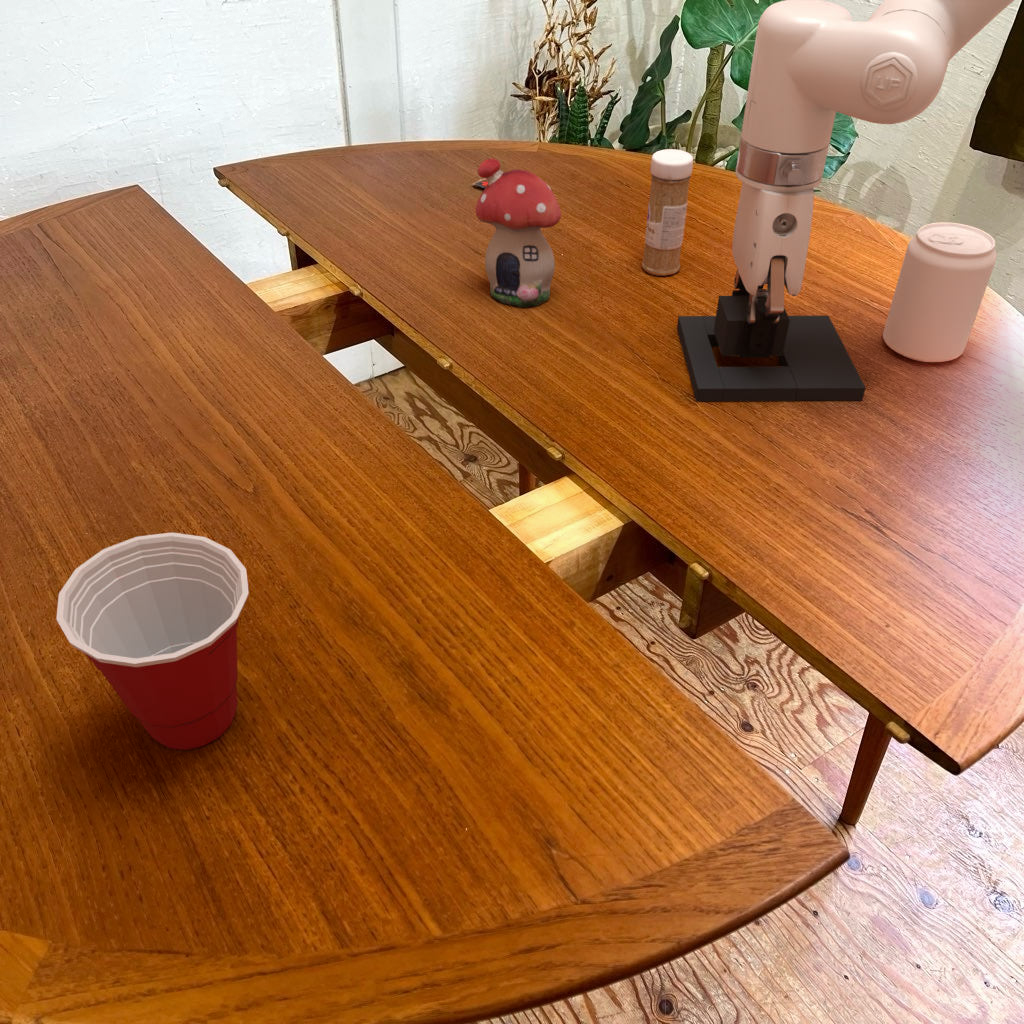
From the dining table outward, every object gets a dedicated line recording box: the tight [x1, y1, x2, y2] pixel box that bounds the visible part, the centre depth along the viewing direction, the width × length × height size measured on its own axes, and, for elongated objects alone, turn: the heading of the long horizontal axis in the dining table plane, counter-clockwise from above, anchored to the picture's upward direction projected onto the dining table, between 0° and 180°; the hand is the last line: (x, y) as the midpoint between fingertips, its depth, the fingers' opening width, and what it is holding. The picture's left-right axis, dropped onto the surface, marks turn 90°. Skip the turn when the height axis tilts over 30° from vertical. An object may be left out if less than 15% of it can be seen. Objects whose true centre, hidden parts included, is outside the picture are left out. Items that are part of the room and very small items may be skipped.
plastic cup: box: [56, 532, 250, 751], centre depth 60 cm, size 11×11×12 cm
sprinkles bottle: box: [641, 148, 694, 277], centre depth 109 cm, size 5×5×13 cm
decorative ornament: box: [475, 157, 562, 308], centre depth 104 cm, size 9×7×15 cm
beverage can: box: [882, 221, 997, 363], centre depth 96 cm, size 8×8×12 cm
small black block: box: [714, 295, 790, 357], centre depth 95 cm, size 6×5×4 cm
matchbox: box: [470, 178, 488, 189], centre depth 132 cm, size 5×5×1 cm
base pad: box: [676, 315, 866, 402], centre depth 97 cm, size 16×14×2 cm
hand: (748, 339), depth 96 cm, fingers closed on small black block, 4 cm apart
